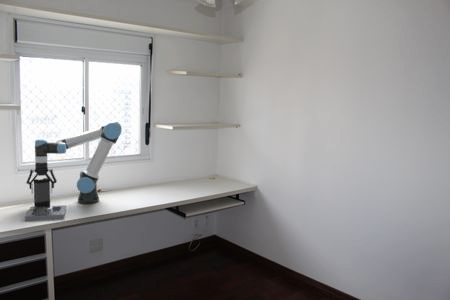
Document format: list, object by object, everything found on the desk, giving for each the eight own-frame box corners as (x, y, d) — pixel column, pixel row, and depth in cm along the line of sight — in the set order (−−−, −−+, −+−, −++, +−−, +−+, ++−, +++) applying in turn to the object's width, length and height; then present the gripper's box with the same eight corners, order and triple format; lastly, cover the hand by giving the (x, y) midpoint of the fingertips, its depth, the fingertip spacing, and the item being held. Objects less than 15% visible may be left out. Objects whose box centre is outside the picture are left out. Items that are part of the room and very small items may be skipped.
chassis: (66, 209, 260) (66, 204, 259) (63, 219, 239) (63, 213, 239) (30, 211, 253) (30, 205, 252) (25, 221, 232) (24, 215, 232)
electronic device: (46, 205, 267) (46, 177, 265) (51, 207, 264) (50, 179, 261) (33, 207, 260) (32, 179, 258) (37, 209, 257) (36, 180, 254)
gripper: (60, 161, 265) (61, 191, 268) (22, 161, 258) (23, 192, 260) (59, 162, 258) (60, 193, 261) (20, 163, 251) (21, 195, 253)
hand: (42, 193), depth 261 cm, fingers open, 11 cm apart
